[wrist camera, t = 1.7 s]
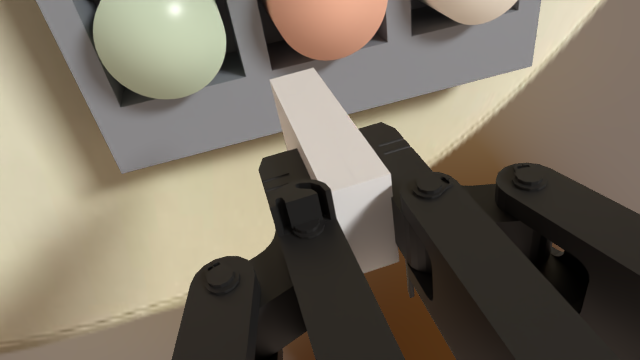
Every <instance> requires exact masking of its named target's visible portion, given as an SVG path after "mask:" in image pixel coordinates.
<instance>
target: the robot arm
mask: <svg viewBox="0 0 640 360" xmlns="http://www.w3.org/2000/svg"><path fill="white" fill-rule="evenodd" d="M270 84H271V88H272V92H273V96H274V100H275V104H276V108H277V112H278V116H279V120H280V124H281V128H282V132H283V136H284V140H285V144H286V148H287V151H285V152H282V153H278V154H275V155H272V156H268V157H265V158H263V159H262V162H261V165H260V167H259V173H260V176H261V180H262V183H263V186H264V190H265V193H266V196H267V200H268V203H269V207H270V210H271V214H272V217H273V220H274V224H275V229H276V232H275V236H274V239H273V240H272V242H271V244H270V245H269V246H268V247H267V248H266V249H265V250H264V251H263V252H261V253H260V254H259V255H257V256H256V257H254V258H252V259H251V260H249V261H248V260H247V259H244V258H241V257H239V256H226V257H222V258H219V259H215V260H213V261H212V262H210V263H208V264H206V265H205V266H203V267H202V268H201V269H200V270H199V271H198V272H197V273H196V274H195V276H194V278H193V280H192V282H191V285H190V288H189V292H188V296H187V300H186V304H185V308H184V313H183V316H182V321H181V324H180V329H179V332H178V336H177V340H176V344H175V348H174V353H173V356H172V360H283V350H282V348H283V347H285V346H286V345H288V344H289V343H290V342H292V341H293V340H295V339H296V338H298V337H299V336H300V335H302V334H303V333H305V332H306V331H307V332H308V336H309V339H310V342H311V345H312V349H313V352H314V355H315V359H316V360H405V358H404V356H403V354H402V352H401V350H400V348H399V346H398V344H397V342H396V340H395V338H394V336H393V334H392V332H391V330H390V327H389V325H388V323H387V321H386V319H385V317H384V315H383V313H382V311H381V309H380V307H379V305H378V303H377V301H376V299H375V297H374V295H373V292H372V290H371V288H370V287H369V284H368V282H367V280H366V278H365V276H364V274H363V273H366V272H369V271H372V270H375V269H378V268H381V267H384V266H387V265H390V264H393V263H396V262H399V255H398V247H399V249H400V251H401V252H402V254H403V256H404V257H405V259H406V271H407V284H408V292H409V296H410V298H412V297H414V288H415V289H416V291H417V293H418V294H419V296H420V298H421V299H422V301H423V303H424V304H425V306H426V308H427V310H428V312H429V313H430V315H431V317H432V318H433V320H434V322H435V324H436V325H437V327H438V329H439V330H440V332H441V334H442V336H443V337H444V339H445V341H446V342H447V344H448V346H449V347H450V349H451V351H452V353H453V355H454V356H455V358H456V360H640V214H638V213H636V212H634V211H632V210H630V209H628V208H626V207H624V206H622V205H620V204H619V203H617V202H615V201H613V200H611V199H609V198H606V197H605V196H603V195H601V194H599V193H597V192H595V191H593V190H591V189H589V188H587V187H586V186H584V185H582V184H580V183H578V182H576V181H574V180H572V179H570V178H568V177H566V176H564V175H562V174H560V173H558V172H556V171H554V170H553V169H551V168H548V167H545V166H542V165H540V164H532V163H518V164H513V165H510V166H507V167H505V168H503V169H502V170H501V171H500V172H499V173H498V175H497V178H496V184H488V185H476V186H462V185H460V184H459V183H458V182H457V181H456V180H455V179H454V178H452V177H451V176H449V175H446V174H443V173H440V172H432V170H431V169H430V168H429V167H428V166H427V164H426V163H425V162H424V161H423V160H422V159H421V158H420V156H419V155H418V154H417V153H416V152H415V151H414V149H413V148H412V147H410V145H409V144H408V143H407V141H406V140H404V139H403V137H402V136H401V135H400V133H399V132H398V131H397V130H396V129H395V128H393V127H391V126H389V125H386V124H384V123H382V122H380V123H377V124H373V125H370V126H367V127H363V128H360V129H358V128H357V127H356V125H355V124H354V122H353V121H352V120H351V118H350V117H349V116H348V114H347V113H346V111H345V110H344V109H343V107H342V106H341V105H340V103H339V102H338V100H337V99H336V98H335V96H334V95H333V94H332V92H331V91H330V89H329V88H328V87H327V85H326V84H325V83H324V81H323V80H322V78H321V77H320V76H319V74H318V73H317V72H316V70H315V69H314V68H310V69H307V70H303V71H299V72H296V73H292V74H288V75H284V76H281V77H277V78H273V79H270ZM552 242H553V243H554V244H556V245H558V246H559V247H561V248H562V249H564V250H565V251H564V252H561V251H559V250H557V249H555V248H553V247H552Z"/></svg>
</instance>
